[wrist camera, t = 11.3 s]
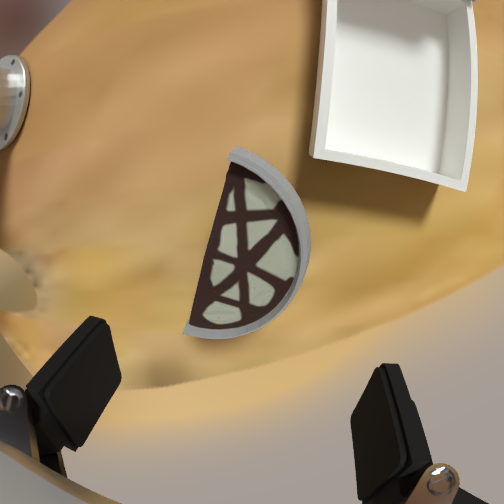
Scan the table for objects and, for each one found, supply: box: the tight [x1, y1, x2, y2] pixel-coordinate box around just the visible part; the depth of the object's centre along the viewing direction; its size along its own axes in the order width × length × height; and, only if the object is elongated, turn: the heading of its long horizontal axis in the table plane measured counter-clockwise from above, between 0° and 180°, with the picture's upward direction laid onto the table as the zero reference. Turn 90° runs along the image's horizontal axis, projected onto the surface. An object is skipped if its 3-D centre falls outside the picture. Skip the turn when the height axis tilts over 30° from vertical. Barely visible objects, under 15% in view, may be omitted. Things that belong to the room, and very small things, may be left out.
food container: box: [182, 146, 311, 339], centre depth 21 cm, size 12×6×10 cm, turn 163°
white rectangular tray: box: [308, 0, 478, 192], centre depth 17 cm, size 12×17×4 cm
